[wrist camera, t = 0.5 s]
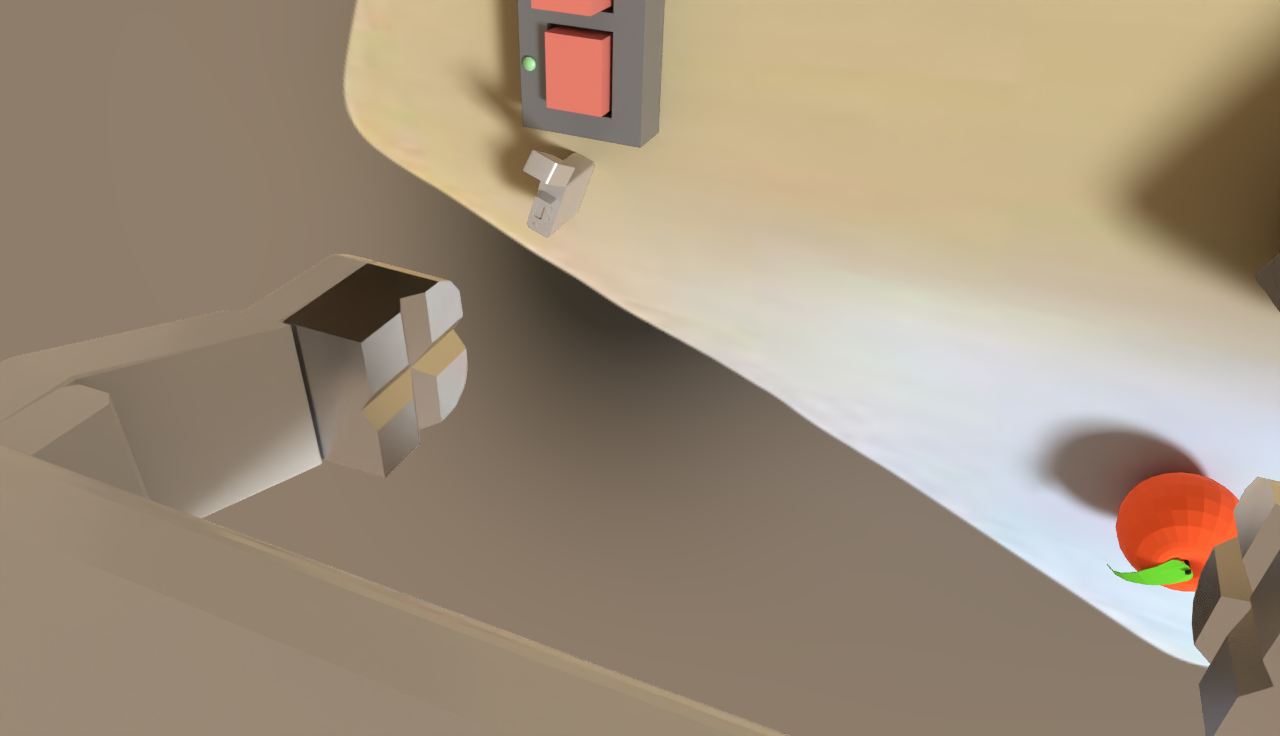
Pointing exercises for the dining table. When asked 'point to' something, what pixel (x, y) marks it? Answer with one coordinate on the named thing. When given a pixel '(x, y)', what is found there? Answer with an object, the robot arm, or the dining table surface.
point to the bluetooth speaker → (1271, 279)
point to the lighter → (556, 189)
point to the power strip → (633, 71)
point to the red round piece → (1174, 528)
